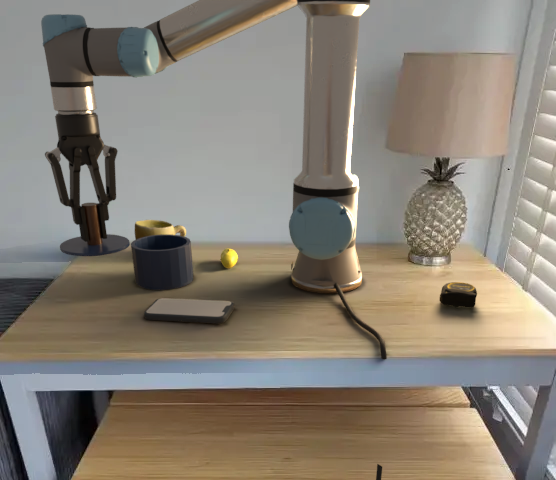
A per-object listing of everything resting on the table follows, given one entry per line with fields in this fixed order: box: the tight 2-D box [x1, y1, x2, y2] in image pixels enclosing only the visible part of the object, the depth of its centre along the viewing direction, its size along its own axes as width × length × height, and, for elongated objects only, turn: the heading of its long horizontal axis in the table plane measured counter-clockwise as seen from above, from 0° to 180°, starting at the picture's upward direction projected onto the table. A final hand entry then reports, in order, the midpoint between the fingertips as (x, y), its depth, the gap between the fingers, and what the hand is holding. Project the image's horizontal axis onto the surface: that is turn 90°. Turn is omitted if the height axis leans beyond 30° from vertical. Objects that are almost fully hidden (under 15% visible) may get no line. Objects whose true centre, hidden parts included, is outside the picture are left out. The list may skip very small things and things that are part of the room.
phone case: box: [143, 297, 235, 325], centre depth 118 cm, size 9×2×16 cm
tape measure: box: [439, 281, 478, 309], centre depth 121 cm, size 7×7×4 cm
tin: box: [130, 234, 194, 291], centre depth 133 cm, size 13×13×8 cm
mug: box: [134, 219, 187, 240], centre depth 149 cm, size 12×10×10 cm
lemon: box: [220, 247, 239, 269], centre depth 143 cm, size 4×8×4 cm, turn 179°
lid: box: [59, 202, 131, 257], centre depth 122 cm, size 14×14×9 cm
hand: (94, 238), depth 123 cm, fingers closed on lid, 3 cm apart
